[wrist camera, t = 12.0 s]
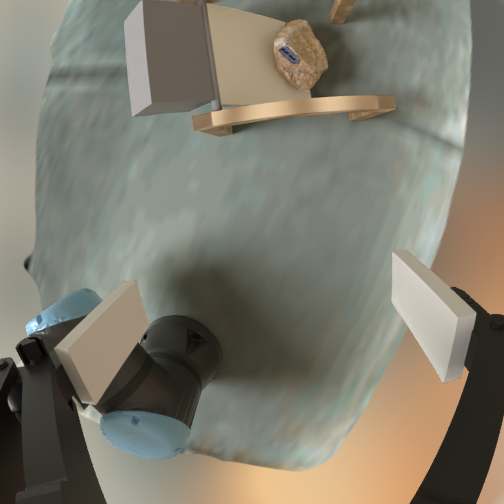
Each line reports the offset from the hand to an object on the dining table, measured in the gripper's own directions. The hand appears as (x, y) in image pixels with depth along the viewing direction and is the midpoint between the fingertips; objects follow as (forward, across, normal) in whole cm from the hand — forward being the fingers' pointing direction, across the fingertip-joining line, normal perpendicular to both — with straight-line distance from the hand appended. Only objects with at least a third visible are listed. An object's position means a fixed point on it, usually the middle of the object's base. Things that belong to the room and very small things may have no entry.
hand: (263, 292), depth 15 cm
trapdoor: (+25, -4, +19) cm, 32 cm away
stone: (+28, +5, +20) cm, 35 cm away
